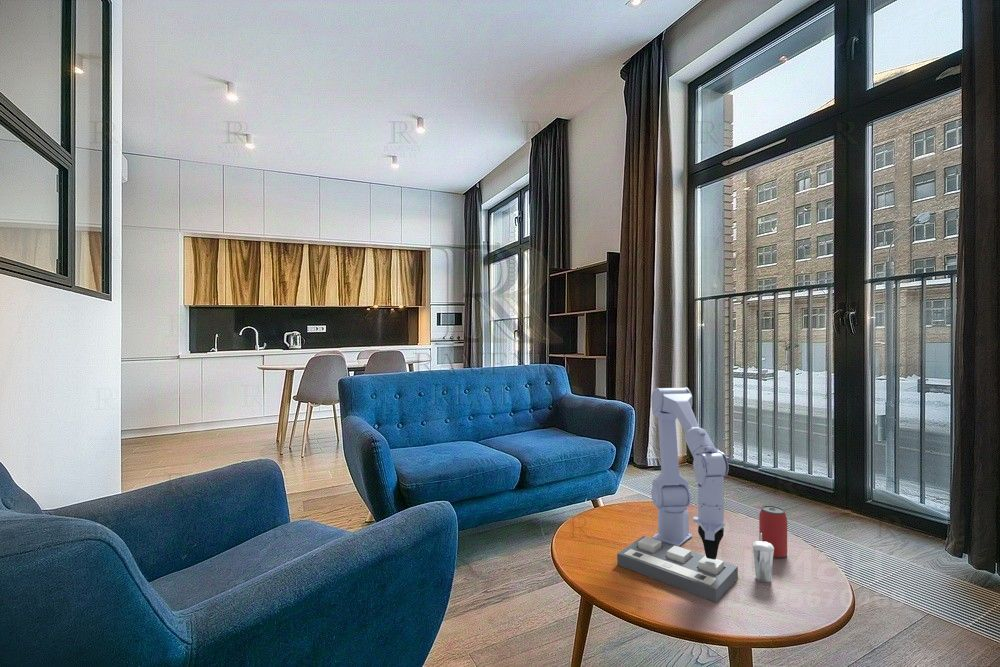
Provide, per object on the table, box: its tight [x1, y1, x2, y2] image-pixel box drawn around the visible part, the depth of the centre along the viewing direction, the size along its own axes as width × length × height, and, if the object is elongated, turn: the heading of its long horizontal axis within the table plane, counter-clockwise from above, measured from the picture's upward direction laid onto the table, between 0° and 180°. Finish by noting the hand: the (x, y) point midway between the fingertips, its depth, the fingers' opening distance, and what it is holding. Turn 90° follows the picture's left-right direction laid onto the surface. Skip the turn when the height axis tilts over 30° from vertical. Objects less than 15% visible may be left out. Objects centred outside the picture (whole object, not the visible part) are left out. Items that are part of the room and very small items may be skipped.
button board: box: [616, 535, 739, 603], centre depth 122 cm, size 14×25×3 cm, turn 46°
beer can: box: [758, 504, 788, 559], centre depth 131 cm, size 7×7×12 cm
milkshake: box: [752, 533, 774, 584], centre depth 118 cm, size 4×5×10 cm
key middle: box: [667, 545, 692, 564], centre depth 123 cm, size 4×4×3 cm
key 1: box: [638, 536, 662, 554], centre depth 129 cm, size 4×4×3 cm
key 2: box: [698, 554, 725, 575], centre depth 118 cm, size 4×4×3 cm
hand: (711, 557), depth 118 cm, fingers closed
